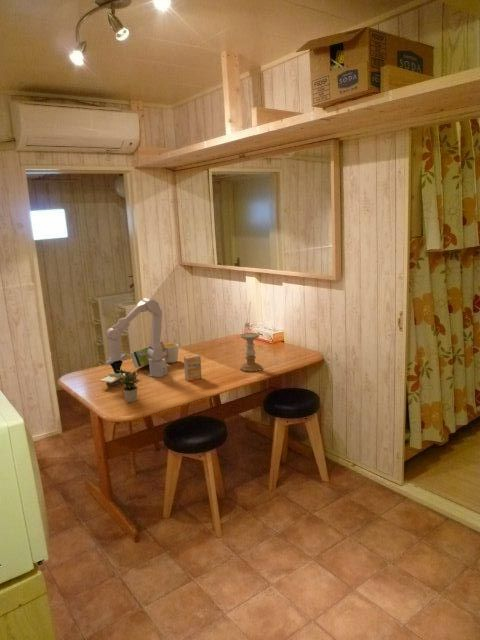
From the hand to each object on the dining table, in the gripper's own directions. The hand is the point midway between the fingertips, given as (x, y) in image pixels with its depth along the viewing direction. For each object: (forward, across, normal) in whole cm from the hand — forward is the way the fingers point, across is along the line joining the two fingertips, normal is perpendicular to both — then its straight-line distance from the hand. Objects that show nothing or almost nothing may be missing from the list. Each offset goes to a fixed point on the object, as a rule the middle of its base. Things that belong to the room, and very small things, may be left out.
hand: (117, 374), depth 259 cm
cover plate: (+1, +3, 0) cm, 3 cm away
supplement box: (+5, -20, +36) cm, 41 cm away
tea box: (0, -29, -7) cm, 30 cm away
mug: (+5, -42, +6) cm, 43 cm away
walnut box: (+5, -3, 0) cm, 6 cm away
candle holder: (+5, -46, +59) cm, 75 cm away
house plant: (+5, +18, +21) cm, 28 cm away
